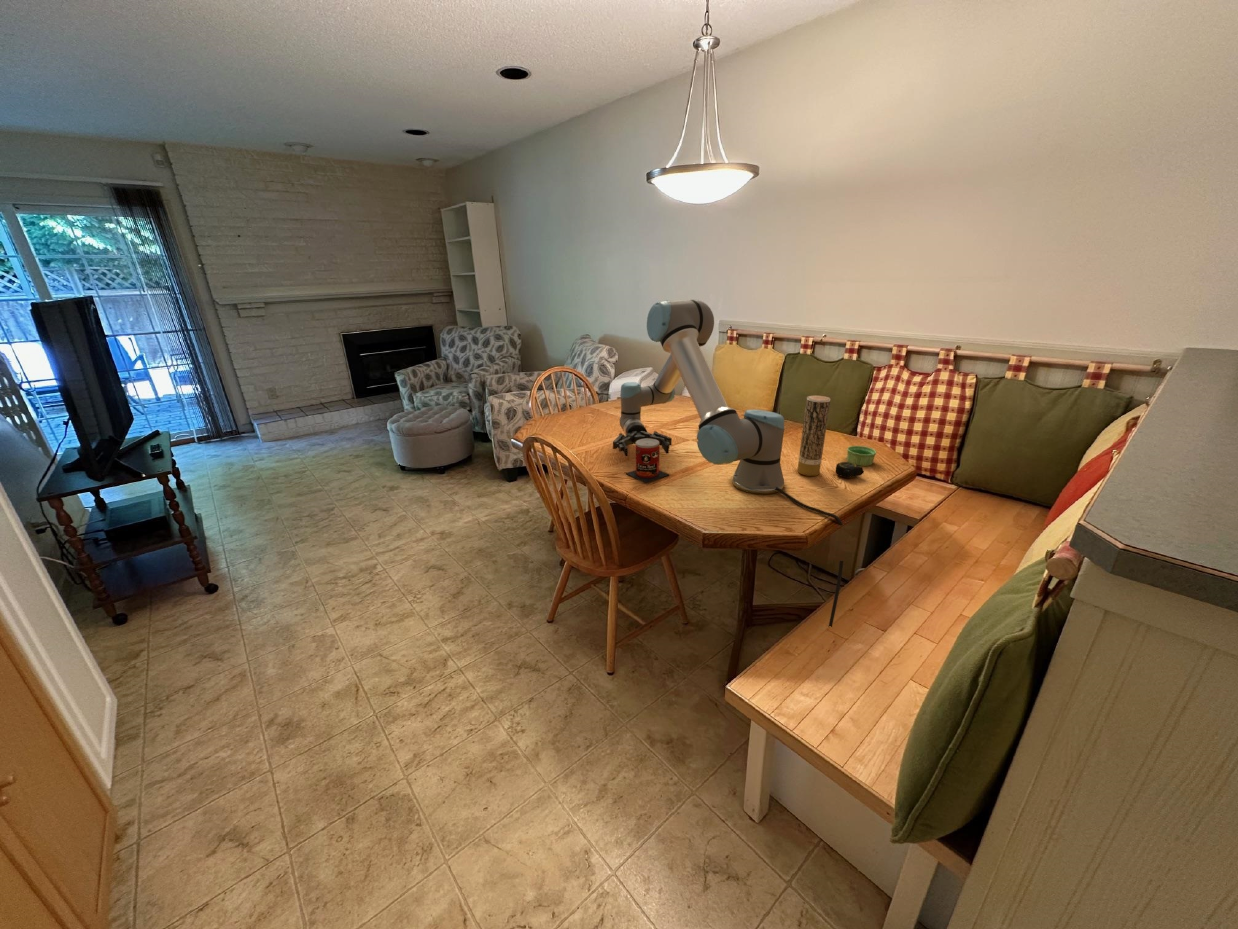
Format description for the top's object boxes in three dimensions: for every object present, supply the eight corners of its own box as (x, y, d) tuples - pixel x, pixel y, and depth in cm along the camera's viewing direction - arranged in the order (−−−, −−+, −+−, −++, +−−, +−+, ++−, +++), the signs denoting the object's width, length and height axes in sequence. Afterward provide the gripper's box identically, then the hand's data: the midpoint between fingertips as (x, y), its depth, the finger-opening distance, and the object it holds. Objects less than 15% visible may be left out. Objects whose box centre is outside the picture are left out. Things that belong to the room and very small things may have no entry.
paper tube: (815, 469, 159) (826, 395, 150) (821, 477, 153) (833, 400, 144) (794, 468, 160) (804, 395, 151) (800, 476, 153) (810, 400, 144)
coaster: (669, 475, 156) (669, 474, 156) (646, 483, 150) (646, 482, 150) (648, 466, 163) (648, 465, 163) (626, 474, 158) (626, 473, 158)
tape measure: (846, 481, 149) (848, 470, 148) (830, 473, 155) (831, 463, 154) (862, 478, 152) (865, 467, 150) (846, 470, 158) (848, 460, 156)
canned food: (634, 477, 154) (633, 445, 150) (637, 468, 161) (637, 437, 157) (657, 479, 153) (658, 446, 148) (660, 469, 160) (660, 438, 156)
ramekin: (850, 466, 161) (852, 454, 159) (841, 457, 169) (843, 445, 168) (878, 467, 160) (880, 454, 158) (868, 457, 168) (870, 445, 167)
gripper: (668, 439, 177) (684, 459, 158) (601, 443, 174) (609, 464, 154) (668, 419, 174) (684, 437, 155) (601, 423, 171) (608, 442, 152)
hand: (647, 451), depth 155 cm, fingers open, 13 cm apart
